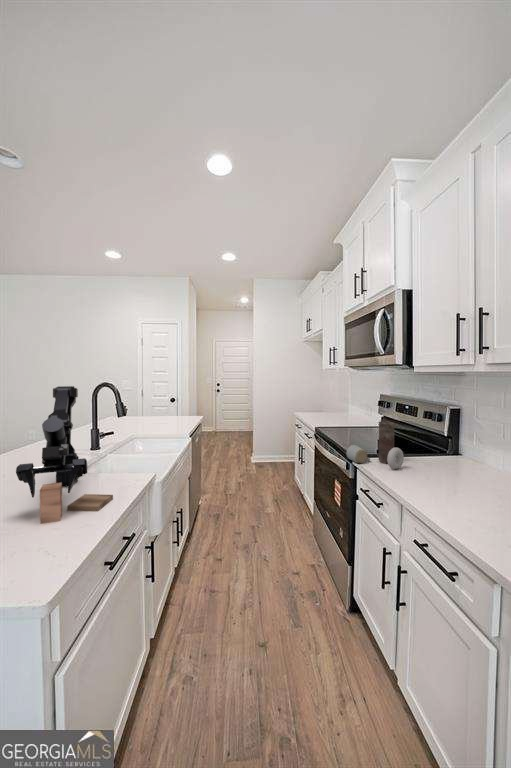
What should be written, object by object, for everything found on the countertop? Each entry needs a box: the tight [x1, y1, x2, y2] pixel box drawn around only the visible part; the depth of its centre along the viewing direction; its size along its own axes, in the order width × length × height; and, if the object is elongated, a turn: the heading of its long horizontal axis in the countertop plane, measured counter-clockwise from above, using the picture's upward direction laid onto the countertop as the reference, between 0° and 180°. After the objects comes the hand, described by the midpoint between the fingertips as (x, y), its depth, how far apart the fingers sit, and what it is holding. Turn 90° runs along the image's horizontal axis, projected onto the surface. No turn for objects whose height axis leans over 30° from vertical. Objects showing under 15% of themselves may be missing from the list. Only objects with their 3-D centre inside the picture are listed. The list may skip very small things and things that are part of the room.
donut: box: [387, 446, 405, 470], centre depth 151 cm, size 10×4×10 cm, turn 124°
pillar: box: [39, 482, 63, 525], centre depth 99 cm, size 5×5×10 cm
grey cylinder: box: [346, 444, 371, 464], centre depth 164 cm, size 11×8×8 cm
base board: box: [66, 493, 114, 512], centre depth 110 cm, size 10×10×2 cm
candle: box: [378, 421, 395, 464], centre depth 163 cm, size 8×7×20 cm
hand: (51, 494), depth 98 cm, fingers open, 9 cm apart
